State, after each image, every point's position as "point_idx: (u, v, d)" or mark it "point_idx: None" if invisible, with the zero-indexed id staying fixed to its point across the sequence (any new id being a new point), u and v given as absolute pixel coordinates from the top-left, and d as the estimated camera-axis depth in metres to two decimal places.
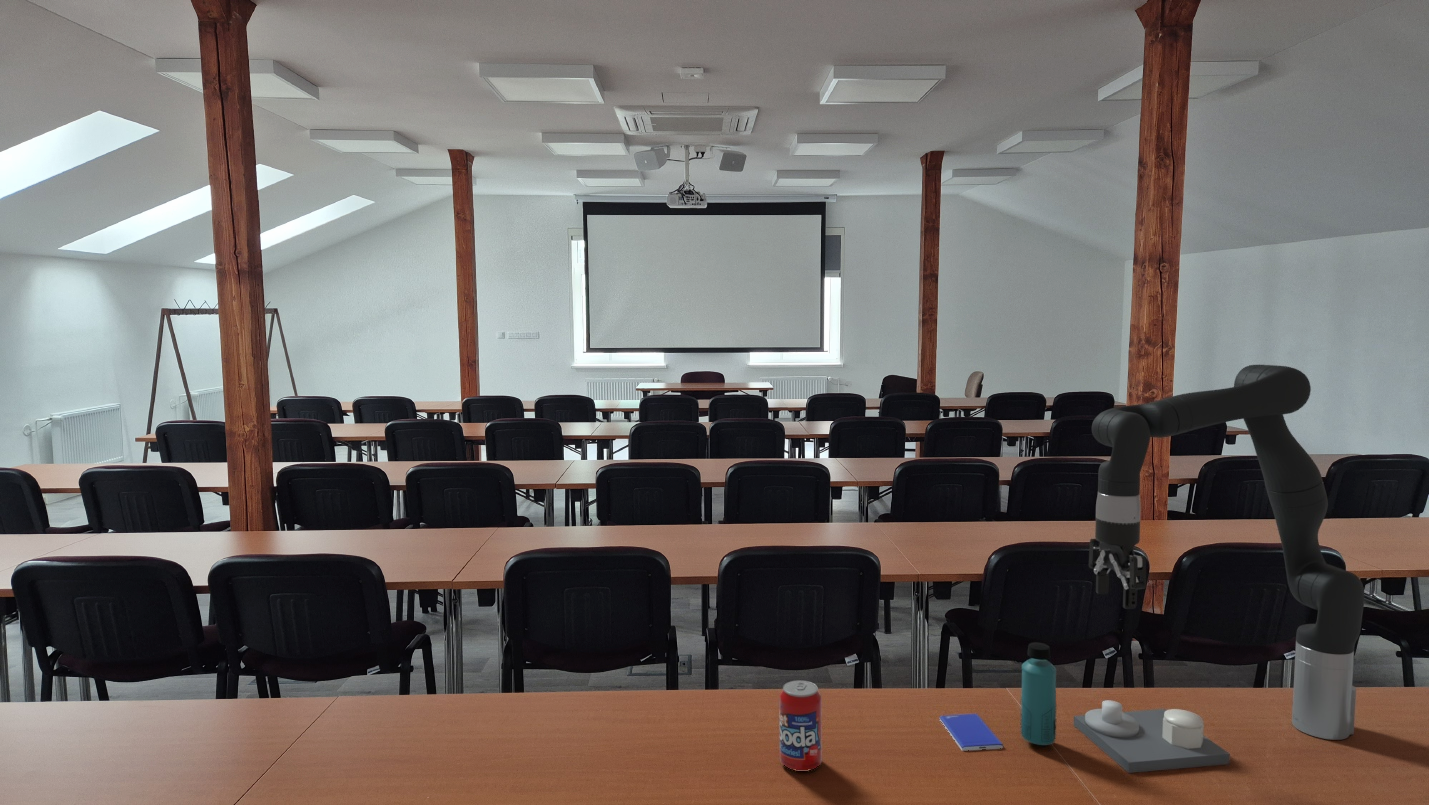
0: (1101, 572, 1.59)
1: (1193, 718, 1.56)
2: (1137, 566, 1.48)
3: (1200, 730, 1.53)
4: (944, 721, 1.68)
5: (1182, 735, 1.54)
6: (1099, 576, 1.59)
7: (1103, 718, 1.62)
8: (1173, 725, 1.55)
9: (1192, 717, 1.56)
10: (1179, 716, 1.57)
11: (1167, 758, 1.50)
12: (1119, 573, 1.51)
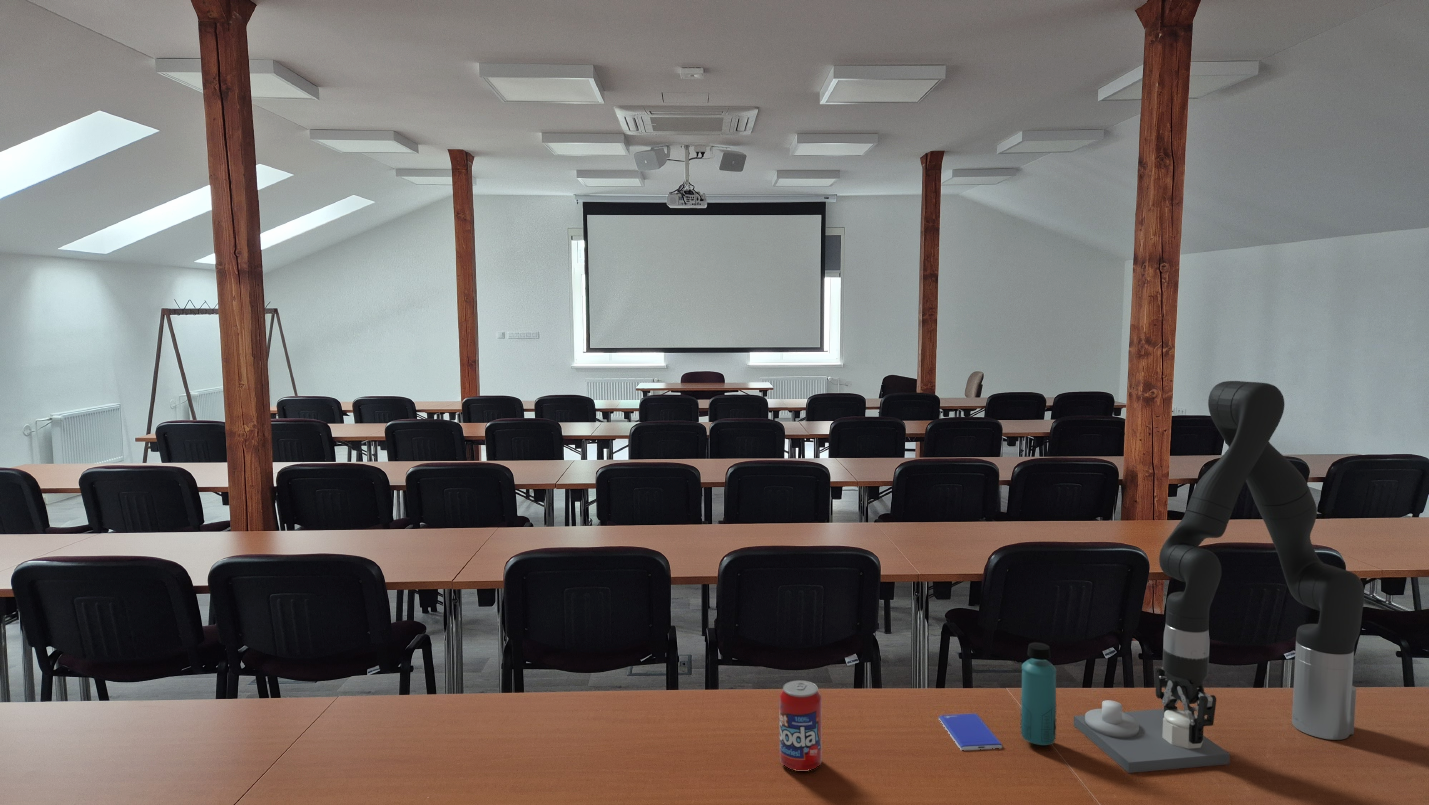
0: (1169, 704, 1.59)
1: None
2: (1207, 706, 1.49)
3: None
4: (943, 721, 1.68)
5: (1182, 735, 1.54)
6: (1167, 708, 1.59)
7: (1103, 718, 1.62)
8: (1173, 725, 1.55)
9: None
10: (1179, 716, 1.57)
11: (1167, 758, 1.50)
12: (1186, 708, 1.53)
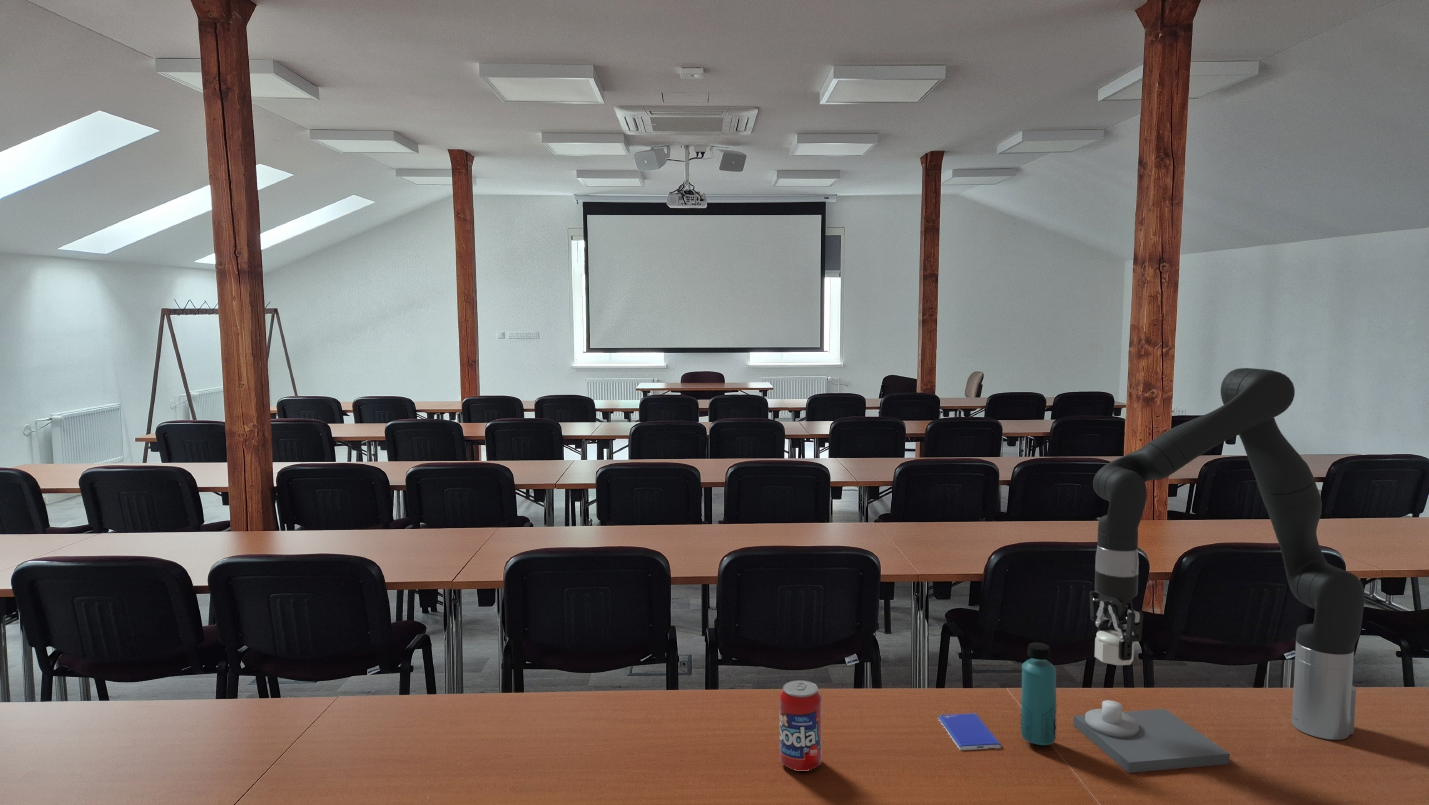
0: (1102, 625, 1.64)
1: None
2: (1134, 622, 1.54)
3: None
4: (942, 720, 1.68)
5: (1112, 652, 1.58)
6: (1100, 629, 1.64)
7: (1103, 718, 1.62)
8: (1104, 643, 1.59)
9: None
10: (1110, 635, 1.61)
11: (1167, 758, 1.50)
12: (1116, 625, 1.57)
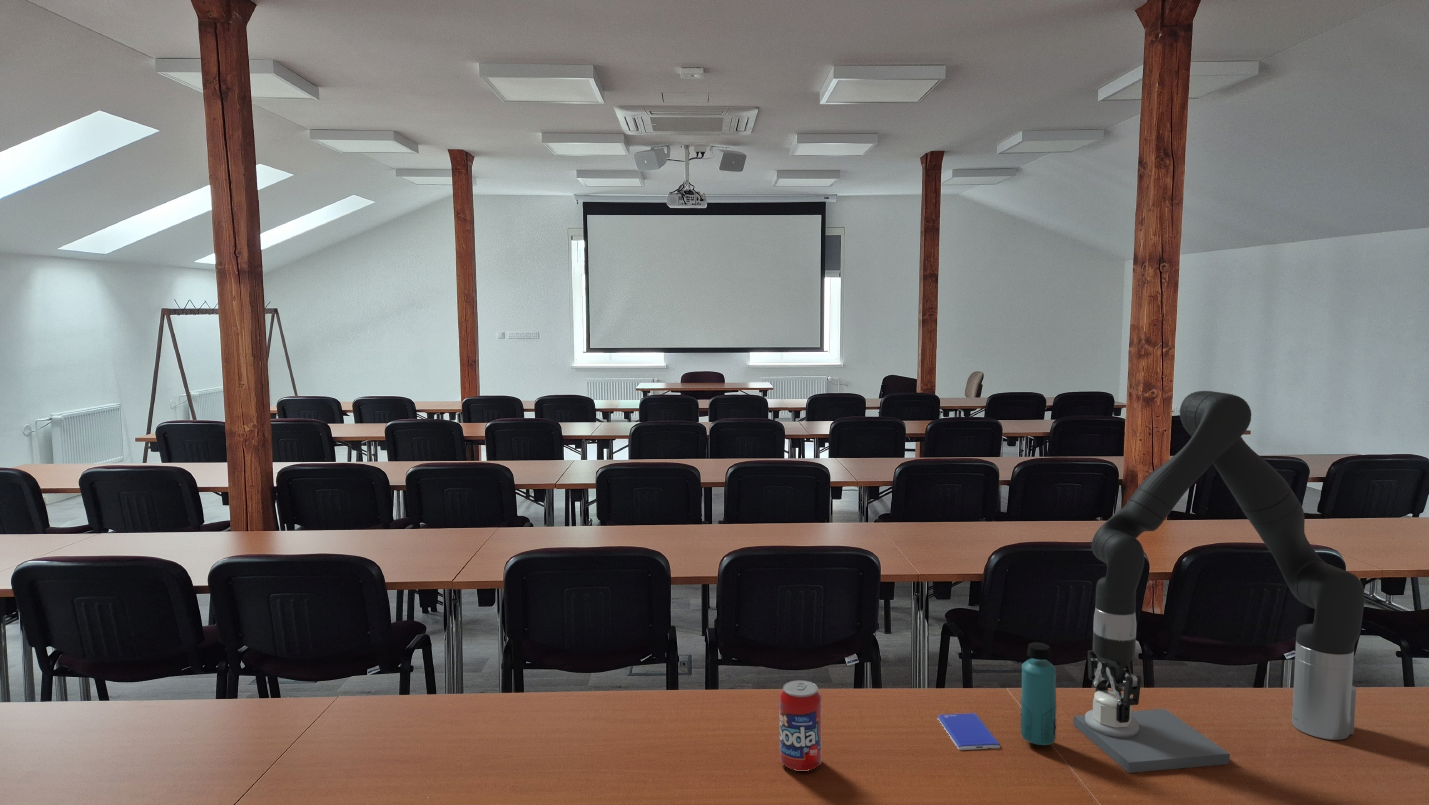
0: (1100, 685, 1.65)
1: None
2: (1132, 686, 1.55)
3: None
4: (942, 720, 1.68)
5: (1110, 714, 1.59)
6: (1098, 689, 1.65)
7: None
8: (1102, 705, 1.60)
9: None
10: (1108, 696, 1.62)
11: (1167, 758, 1.50)
12: (1114, 688, 1.58)
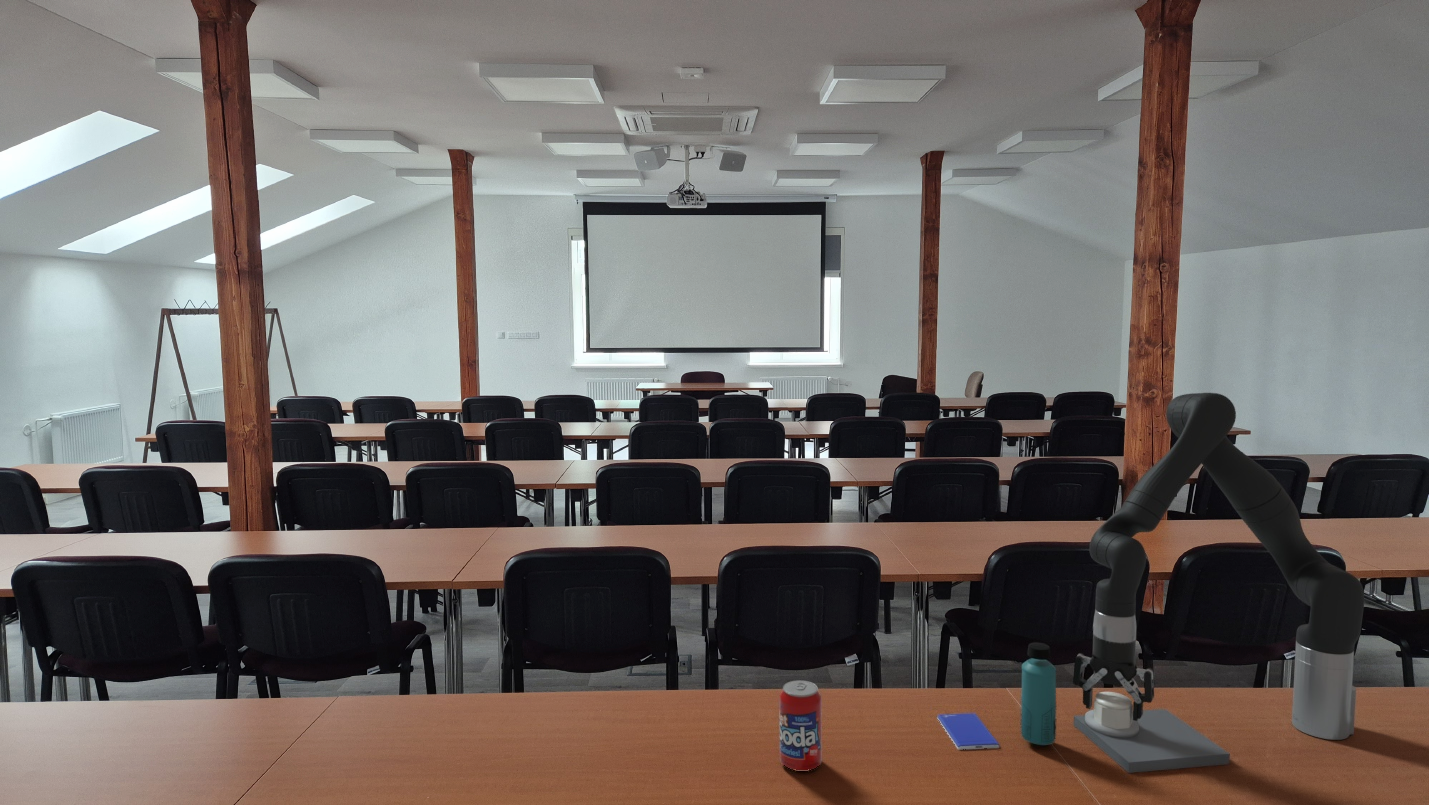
0: (1089, 687, 1.64)
1: (1119, 697, 1.62)
2: (1151, 680, 1.57)
3: (1132, 706, 1.61)
4: (941, 720, 1.68)
5: (1124, 717, 1.59)
6: (1089, 692, 1.64)
7: None
8: (1117, 710, 1.59)
9: (1116, 696, 1.63)
10: (1111, 699, 1.61)
11: (1167, 758, 1.50)
12: (1130, 689, 1.58)
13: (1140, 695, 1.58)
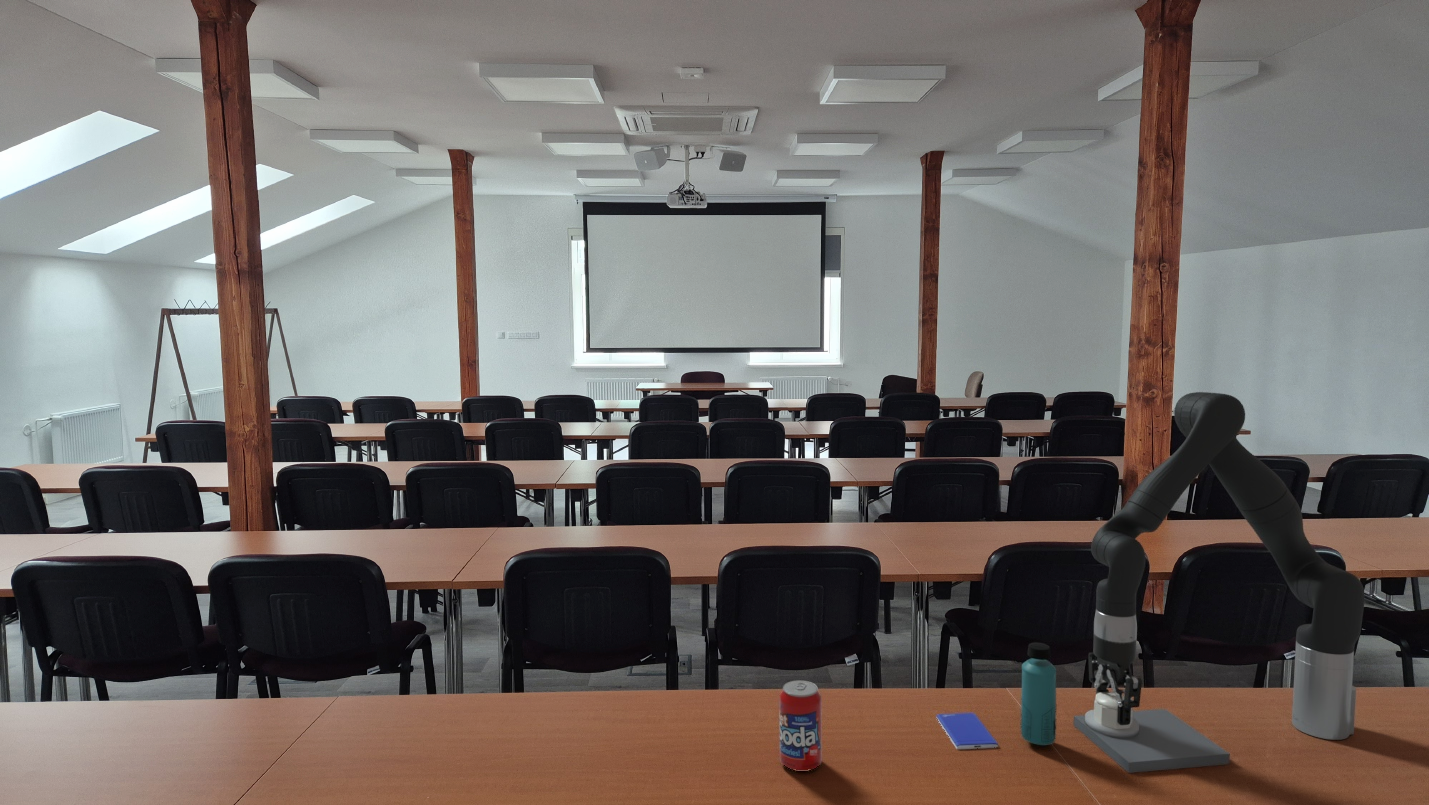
0: (1101, 687, 1.65)
1: None
2: (1132, 688, 1.55)
3: None
4: (941, 719, 1.68)
5: None
6: (1099, 691, 1.65)
7: None
8: (1117, 710, 1.59)
9: None
10: (1111, 699, 1.61)
11: (1167, 758, 1.50)
12: (1115, 690, 1.58)
13: None
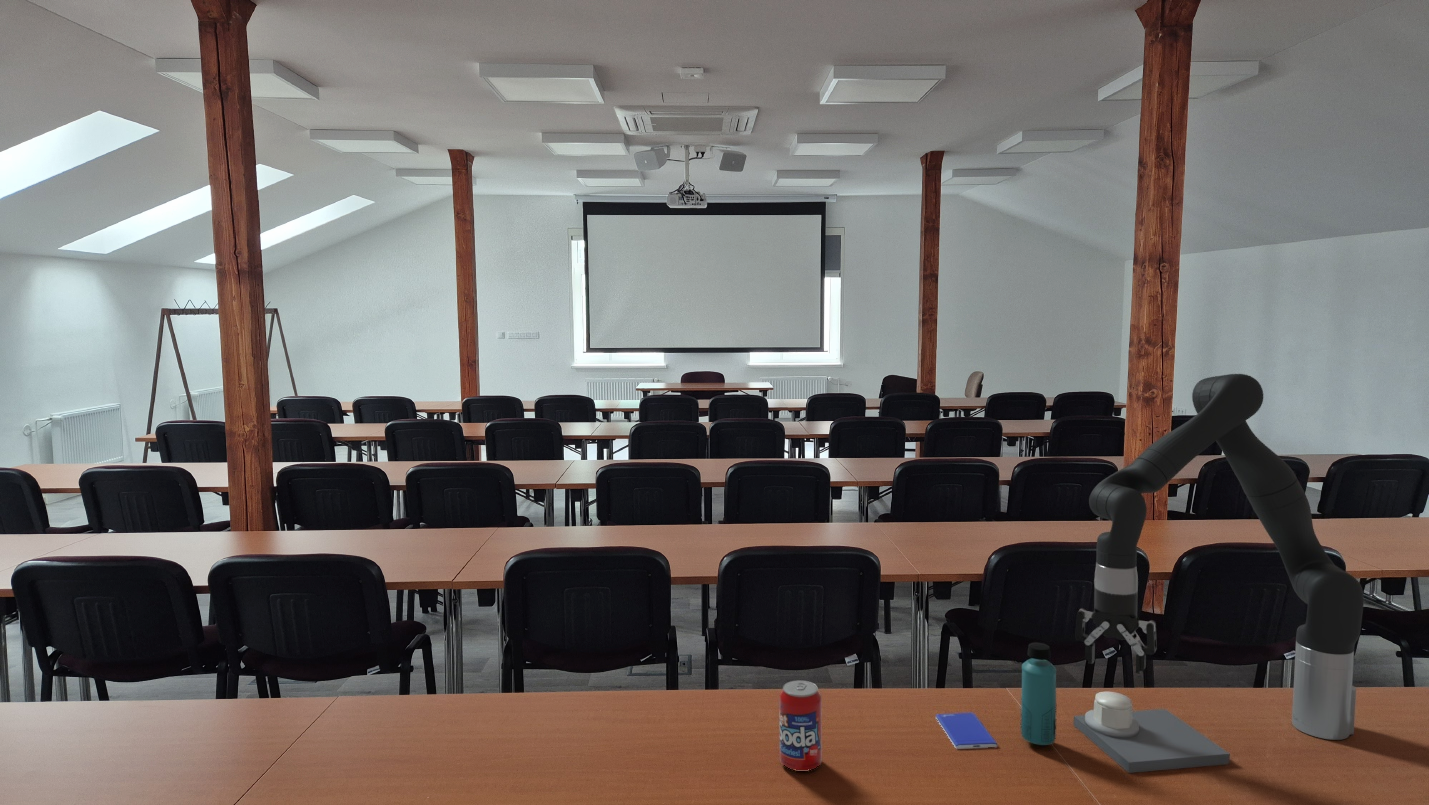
0: (1092, 642, 1.63)
1: (1112, 695, 1.63)
2: (1154, 632, 1.56)
3: None
4: (940, 719, 1.69)
5: (1131, 713, 1.60)
6: (1092, 646, 1.63)
7: None
8: (1129, 709, 1.59)
9: (1109, 695, 1.63)
10: (1113, 700, 1.61)
11: (1167, 758, 1.50)
12: (1133, 641, 1.57)
13: (1143, 647, 1.57)
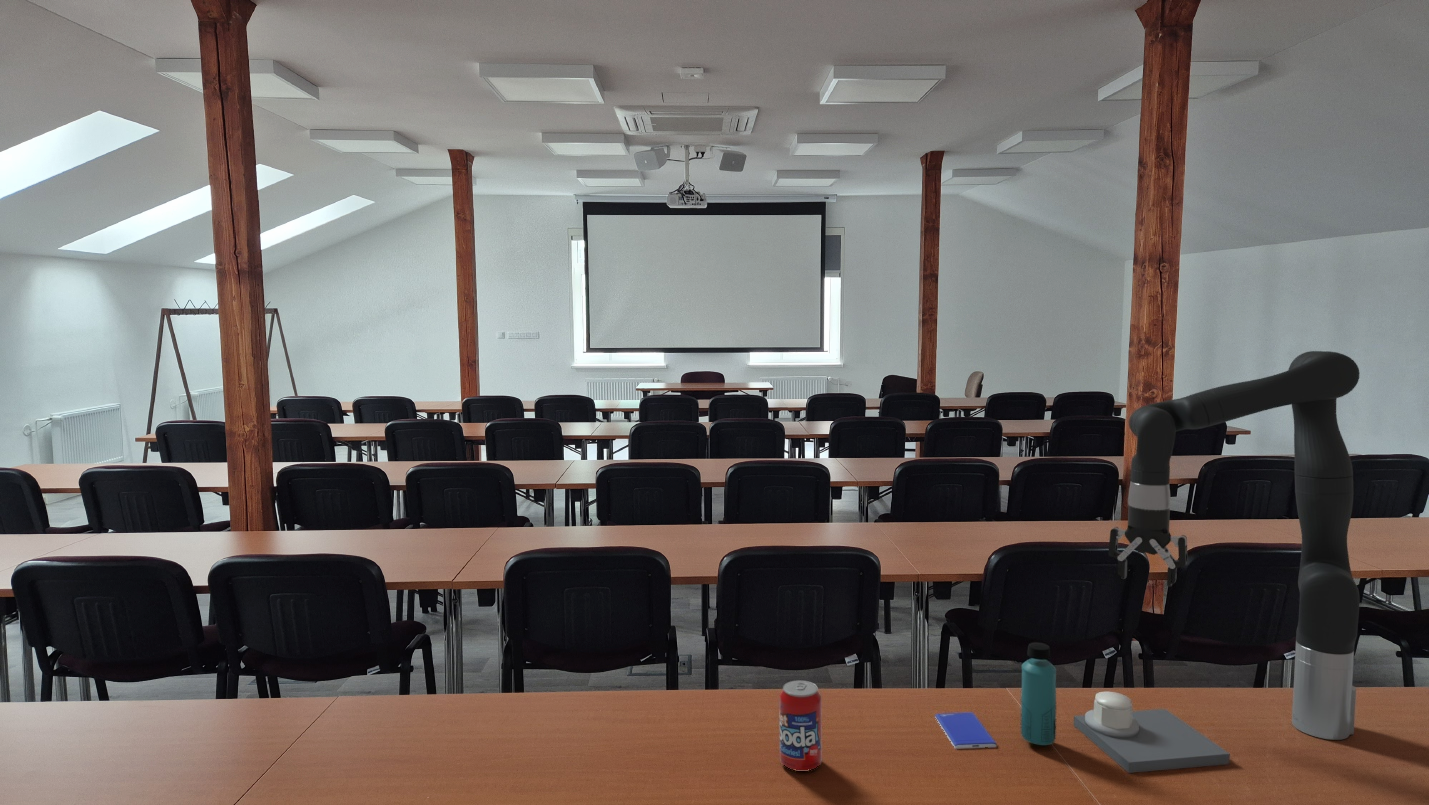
0: (1124, 558, 1.71)
1: (1112, 695, 1.63)
2: (1185, 545, 1.64)
3: None
4: (939, 719, 1.69)
5: (1131, 713, 1.60)
6: (1124, 562, 1.71)
7: None
8: (1129, 709, 1.59)
9: (1109, 695, 1.63)
10: (1113, 700, 1.61)
11: (1167, 758, 1.50)
12: (1165, 555, 1.65)
13: (1174, 561, 1.66)
